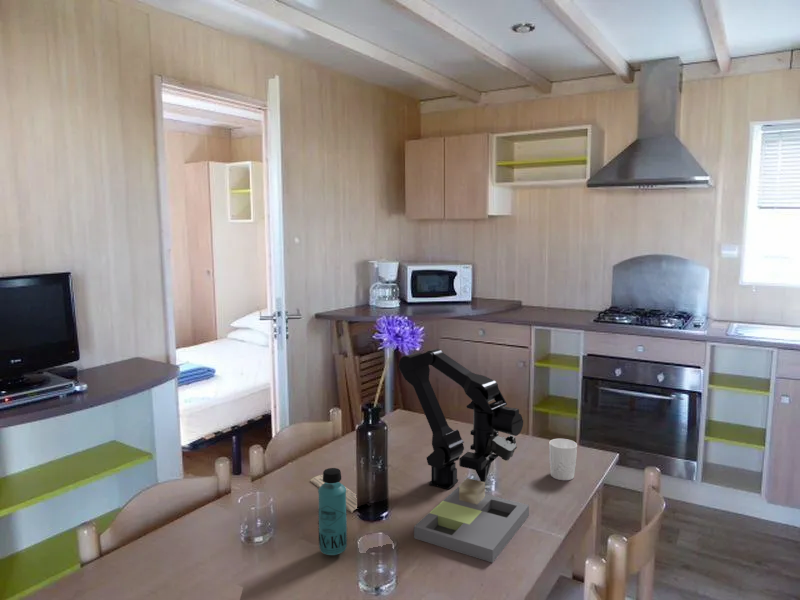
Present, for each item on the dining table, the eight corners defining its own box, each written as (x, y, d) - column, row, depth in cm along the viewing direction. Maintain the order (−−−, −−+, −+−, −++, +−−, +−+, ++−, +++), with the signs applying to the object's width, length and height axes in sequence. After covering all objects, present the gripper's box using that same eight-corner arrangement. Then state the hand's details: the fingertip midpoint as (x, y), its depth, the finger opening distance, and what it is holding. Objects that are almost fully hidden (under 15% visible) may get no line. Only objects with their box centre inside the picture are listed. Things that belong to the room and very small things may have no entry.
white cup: (577, 482, 169) (578, 449, 168) (549, 480, 171) (549, 447, 169) (574, 471, 177) (575, 439, 175) (547, 469, 178) (548, 437, 177)
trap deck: (414, 538, 140) (413, 526, 140) (457, 497, 161) (457, 487, 160) (492, 562, 130) (492, 550, 130) (528, 516, 150) (529, 504, 150)
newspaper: (310, 483, 172) (310, 477, 171) (331, 477, 176) (331, 471, 176) (352, 515, 153) (352, 509, 152) (375, 508, 157) (375, 501, 157)
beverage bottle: (319, 546, 137) (317, 464, 134) (348, 545, 137) (346, 463, 135) (318, 562, 130) (315, 477, 128) (348, 561, 131) (346, 475, 128)
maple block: (459, 499, 153) (459, 485, 152) (467, 492, 157) (467, 478, 157) (477, 504, 150) (477, 489, 150) (484, 496, 154) (484, 482, 154)
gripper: (499, 443, 146) (498, 503, 148) (524, 421, 161) (523, 475, 164) (458, 435, 151) (458, 492, 154) (487, 414, 167) (486, 467, 169)
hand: (483, 481), depth 160 cm, fingers closed
